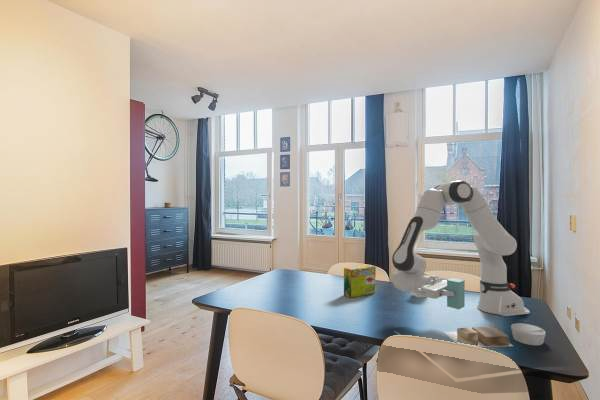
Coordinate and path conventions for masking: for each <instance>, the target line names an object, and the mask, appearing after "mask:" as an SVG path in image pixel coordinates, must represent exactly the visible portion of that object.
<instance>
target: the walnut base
mask: <svg viewBox="0 0 600 400" xmlns="http://www.w3.org/2000/svg"><path fill="white" fill-rule="evenodd" d="M471 329H473V330H474V331H476V332H478V341H479V342H481V343H482V344H483V345H485V346H502V347H510V346H509V343H510V336H509V335H508V334H506V333H505V332H503V331H502V330H500V329H498V328H497V327H496V326H472V328H471Z"/></svg>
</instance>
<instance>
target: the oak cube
mask: <svg viewBox="0 0 600 400" xmlns="http://www.w3.org/2000/svg"><path fill="white" fill-rule="evenodd" d="M456 332H457V342H460V343H464V344H470V345H476V346H478V332H476V331H474V330H473V329H472V328H471V327H469V326H467V327H457V328H456Z"/></svg>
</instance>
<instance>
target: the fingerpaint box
mask: <svg viewBox="0 0 600 400" xmlns="http://www.w3.org/2000/svg"><path fill="white" fill-rule="evenodd" d="M376 269H377V267H376V265H372V264H362V265H355V266H348V267H346V266H345V267H344V268H343V296H346V297H347V298H355V297H361V296H366V295H371V294H376V276H377V275H376Z"/></svg>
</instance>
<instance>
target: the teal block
mask: <svg viewBox="0 0 600 400" xmlns="http://www.w3.org/2000/svg"><path fill="white" fill-rule="evenodd" d="M465 281H466V280H465V279H459V278H455V277H451V278H448V280H447V291H455V296H446V306H447V307H448V308H452V309H456V310H461V309H463V308H464V307H465V304H466V303H465V294H466V293H465V285H466V284H465Z"/></svg>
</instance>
